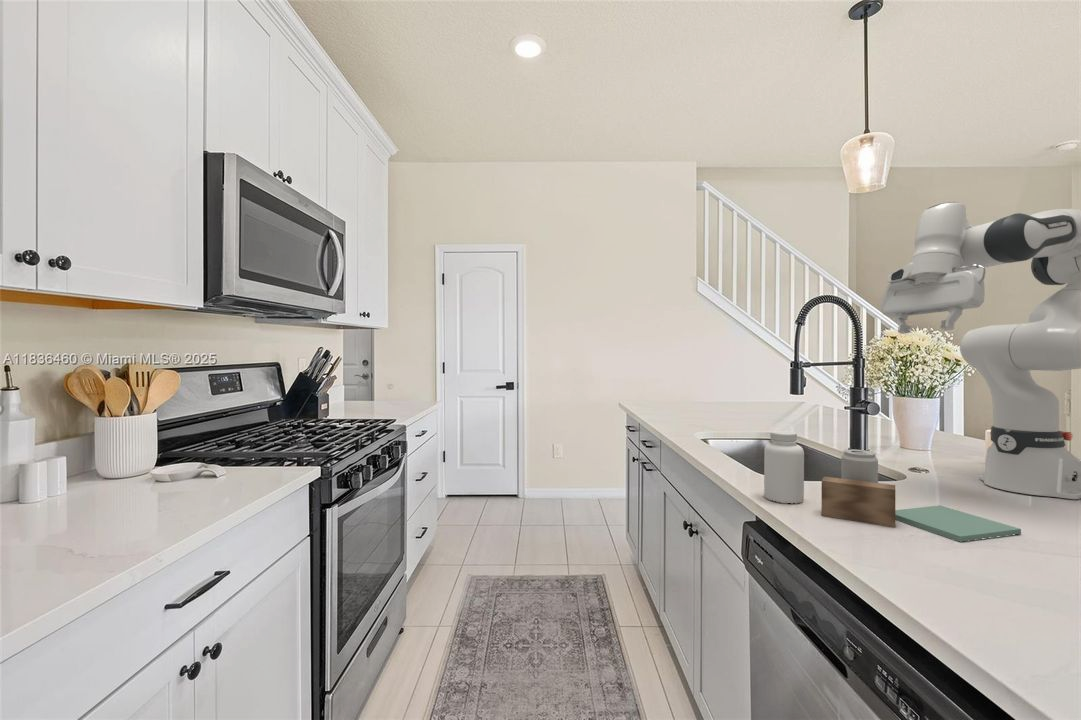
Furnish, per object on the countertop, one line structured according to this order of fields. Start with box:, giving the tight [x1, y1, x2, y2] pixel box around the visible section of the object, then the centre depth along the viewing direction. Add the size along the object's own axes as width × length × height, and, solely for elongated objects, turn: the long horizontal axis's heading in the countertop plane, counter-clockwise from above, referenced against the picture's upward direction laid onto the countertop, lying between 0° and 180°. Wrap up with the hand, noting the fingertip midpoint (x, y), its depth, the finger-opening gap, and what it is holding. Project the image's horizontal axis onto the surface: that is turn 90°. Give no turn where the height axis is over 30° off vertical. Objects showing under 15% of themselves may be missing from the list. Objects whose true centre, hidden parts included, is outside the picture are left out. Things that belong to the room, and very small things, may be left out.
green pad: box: [895, 505, 1022, 543], centre depth 93 cm, size 14×14×1 cm
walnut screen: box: [821, 476, 896, 528], centre depth 96 cm, size 12×4×7 cm, turn 55°
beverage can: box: [840, 449, 879, 483], centre depth 102 cm, size 6×6×12 cm
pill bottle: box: [763, 430, 805, 505], centre depth 109 cm, size 8×8×15 cm
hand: (924, 331), depth 110 cm, fingers open, 8 cm apart
